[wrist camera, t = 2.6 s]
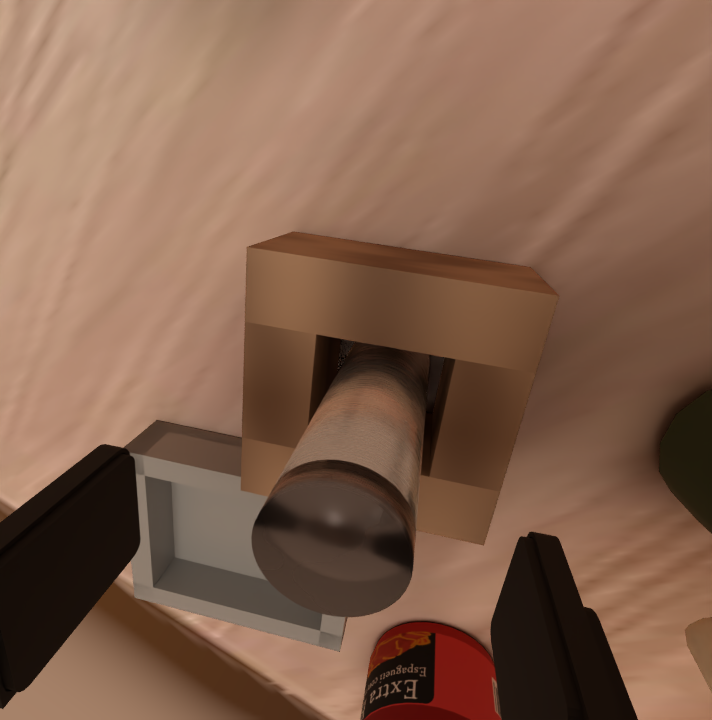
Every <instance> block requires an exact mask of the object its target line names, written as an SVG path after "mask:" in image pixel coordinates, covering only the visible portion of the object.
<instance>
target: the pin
mask: <svg viewBox="0 0 712 720" xmlns="http://www.w3.org/2000/svg"><path fill="white" fill-rule="evenodd" d="M429 365H430V354H424V353H418V352H413V351H407V350H401V349H396V348H390V347H385V346H379V345H373V344H368V343H362V342H356V341H355V343H354V344H353V346H352V348H351V350H350V352H349V353H348V355H347V357H346V359H345V360H344V362H343V364H342V366H341V368H340V369H339V371H338V373H337V375H336V377H335V378H334V380H333V382H332V384H331V385H330V387H329V389H328V391H327V393H326V394H325V396H324V398H323V400H322V402H321V403H320V405H319V407H318V409H317V411H316V412H315V414H314V416H313V418H312V419H311V421H310V423H309V425H308V427H307V428H306V430H305V432H304V434H303V436H302V437H301V439H300V441H299V443H298V444H297V446H296V448H295V450H294V452H293V453H292V455H291V457H290V459H289V461H288V462H287V464H286V466H285V468H284V469H283V471H282V473H281V475H280V477H279V478H278V480H277V482H276V484H275V486H274V487H273V489H272V491H271V493H270V495H269V496H268V498H267V500H266V502H265V503H264V505H263V507H262V509H261V511H260V512H259V514H258V516H257V518H256V520H255V522H254V526H253V529H252V536H251V541H252V550H253V554H254V557H255V560H256V563H257V565H258V567H259V568H260V570H261V572H262V573H263V575H264V576H265V578H266V579H267V580H268V581H269V582H270V584H271V585H272V586H273V587H274V588H275V589H277V590H278V591H279V592H280V593H281V594H283V595H284V596H285V597H286V598H288V599H290V600H291V601H293V602H294V603H296V604H298V605H300V606H302V607H304V608H307V609H309V610H312V611H314V612H318V613H321V614H325V615H330V616H337V617H359V616H365V615H370V614H373V613H376V612H379V611H381V610H383V609H385V608H387V607H389V606H390V605H392V604H393V603H395V602H396V601H397V600H398V599H399V598H400V597H401V596H402V595H403V593H404V592H405V591H406V589H407V587H408V585H409V583H410V580H411V577H412V571H413V561H414V549H415V537H416V524H417V512H418V500H419V488H420V475H421V463H422V451H423V439H424V426H425V414H426V402H427V389H428V377H429Z"/></svg>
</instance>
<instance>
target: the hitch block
mask: <svg viewBox="0 0 712 720" xmlns="http://www.w3.org/2000/svg"><path fill="white" fill-rule="evenodd" d="M558 299H559V295H558V294H557V293H556V292H555V291H554V290H553V289H552V288H551V287H550V286H549V285H548V284H547V283H546V282H545V281H544V280H543V279H542V278H541V277H540V276H539V275H538V274H537V273H536V272H535V271H534V270H533V269H532V268H531V267H525V266H518V265H512V264H505V263H499V262H492V261H485V260H479V259H472V258H465V257H459V256H452V255H445V254H439V253H432V252H425V251H419V250H412V249H405V248H399V247H392V246H385V245H379V244H372V243H365V242H359V241H352V240H345V239H339V238H332V237H325V236H319V235H312V234H305V233H299V232H291V233H288V234H285V235H282V236H279V237H276V238H273V239H270V240H267V241H264V242H261V243H258V244H254V245H251V246H248V247H247V261H246V299H245V338H244V377H243V415H242V454H241V491H245V492H249V493H254V494H258V495H263V496H267V497H268V496H269V495H270V493H271V491H272V489H273V487H274V486H275V484H276V482H277V480H278V478H279V477H280V475H281V473H282V471H283V469H284V468H285V466H286V464H287V462H288V461H289V459H290V457H291V455H292V453H293V452H294V450H295V448H296V446H297V444H298V443H299V441H300V439H301V437H302V436H303V434H304V432H305V430H306V428H307V427H308V425H309V423H310V421H311V419H312V418H313V416H314V414H315V412H316V411H317V409H318V407H319V405H320V403H321V402H322V400H323V398H324V396H325V394H326V393H327V391H328V389H329V387H330V385H331V384H332V382H333V380H334V378H335V377H336V375H337V369H338V360H339V351H340V342H341V339H345V340H351V341H356V342H362V343H368V344H373V345H379V346H385V347H390V348H396V349H401V350H407V351H413V352H418V353H424V354H430V355H435V356H441V357H445V358H444V363H443V367H442V372H441V377H440V381H439V386H438V391H437V396H436V400H435V405H434V410H433V414H431V413H426V414H425V426H424V439H423V451H422V463H421V475H420V488H419V500H418V512H417V524H416V530H417V531H422V532H426V533H431V534H435V535H440V536H444V537H448V538H453V539H457V540H462V541H466V542H471V543H475V544H479V545H484V543H485V540H486V537H487V533H488V530H489V527H490V523H491V520H492V517H493V514H494V510H495V507H496V504H497V500H498V497H499V494H500V490H501V487H502V484H503V480H504V477H505V474H506V471H507V467H508V464H509V461H510V457H511V454H512V451H513V447H514V444H515V441H516V437H517V434H518V431H519V428H520V424H521V421H522V418H523V414H524V411H525V408H526V404H527V401H528V398H529V394H530V391H531V388H532V385H533V381H534V378H535V375H536V371H537V368H538V365H539V361H540V358H541V355H542V351H543V348H544V345H545V342H546V338H547V335H548V332H549V328H550V325H551V322H552V318H553V315H554V312H555V308H556V305H557V302H558Z"/></svg>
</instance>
